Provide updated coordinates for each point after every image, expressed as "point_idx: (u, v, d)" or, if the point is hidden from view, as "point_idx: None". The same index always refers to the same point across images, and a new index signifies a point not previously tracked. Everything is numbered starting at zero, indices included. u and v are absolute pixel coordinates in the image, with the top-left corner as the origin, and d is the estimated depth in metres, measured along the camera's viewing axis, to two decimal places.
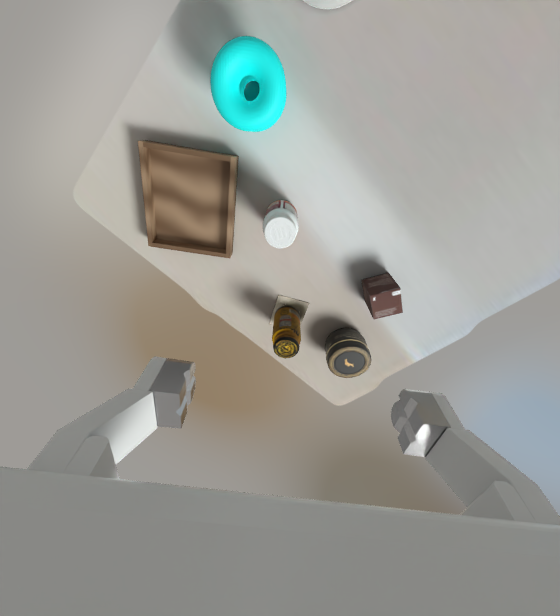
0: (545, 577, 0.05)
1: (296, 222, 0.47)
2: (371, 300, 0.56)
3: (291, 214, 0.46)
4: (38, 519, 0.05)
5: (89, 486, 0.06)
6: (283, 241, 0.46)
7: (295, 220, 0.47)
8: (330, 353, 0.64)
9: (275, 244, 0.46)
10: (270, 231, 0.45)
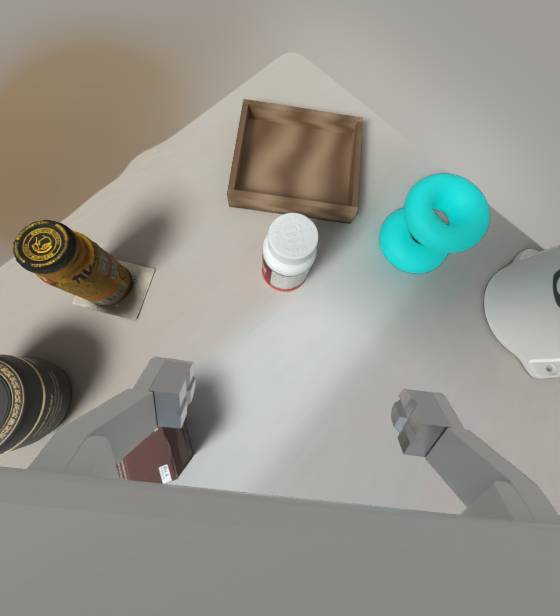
0: (545, 577, 0.05)
1: (300, 269, 0.31)
2: None
3: (311, 262, 0.31)
4: (38, 519, 0.05)
5: (89, 486, 0.06)
6: (280, 240, 0.28)
7: (303, 268, 0.31)
8: (8, 358, 0.28)
9: (275, 228, 0.28)
10: (294, 221, 0.29)
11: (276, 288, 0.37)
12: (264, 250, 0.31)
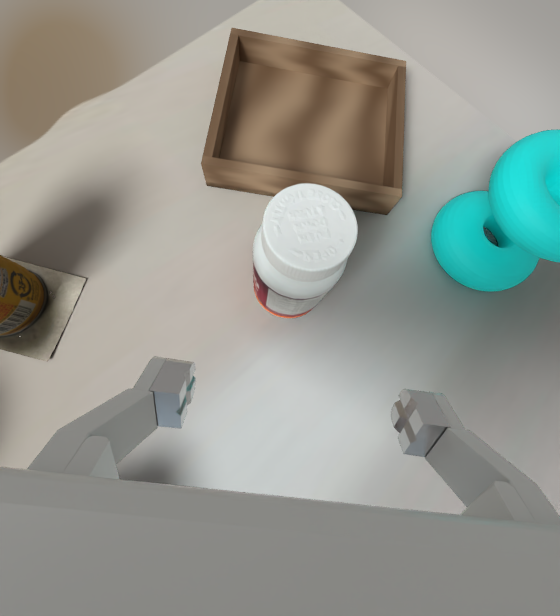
0: (545, 577, 0.05)
1: (319, 288, 0.17)
2: None
3: (338, 275, 0.17)
4: (38, 519, 0.05)
5: (89, 486, 0.06)
6: (285, 233, 0.15)
7: (325, 285, 0.17)
8: None
9: (275, 210, 0.15)
10: (313, 198, 0.15)
11: (275, 313, 0.23)
12: (254, 253, 0.17)
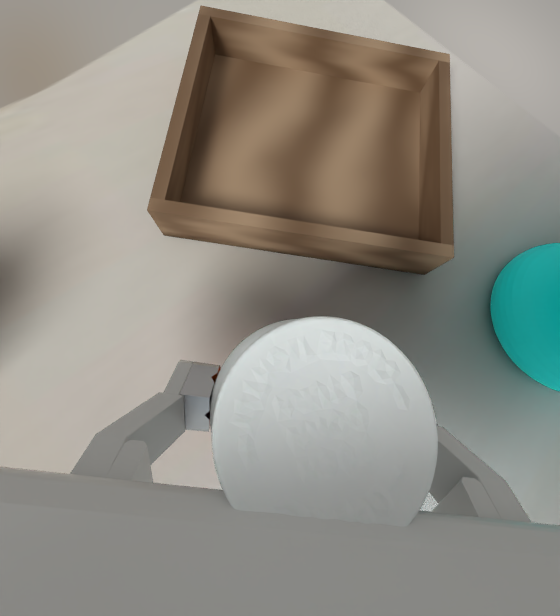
0: (545, 577, 0.05)
1: None
2: None
3: None
4: (38, 519, 0.05)
5: (89, 486, 0.06)
6: (267, 458, 0.06)
7: None
8: None
9: (243, 394, 0.06)
10: (333, 356, 0.07)
11: None
12: (211, 426, 0.09)
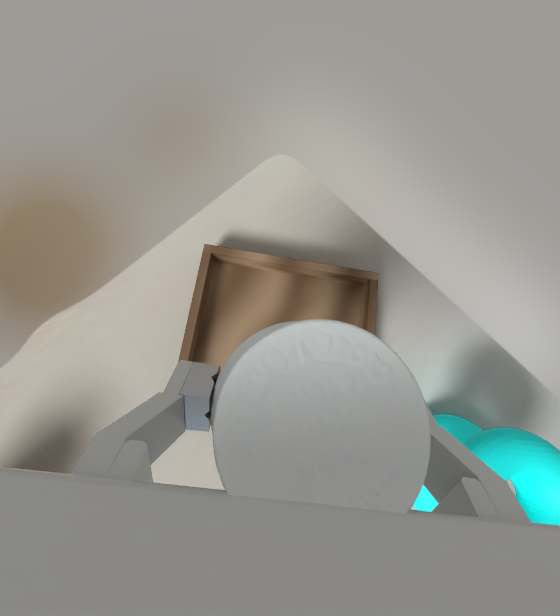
0: (545, 577, 0.05)
1: None
2: None
3: None
4: (38, 519, 0.05)
5: (89, 486, 0.06)
6: (266, 455, 0.06)
7: None
8: None
9: (243, 394, 0.06)
10: (330, 358, 0.07)
11: None
12: (212, 425, 0.09)
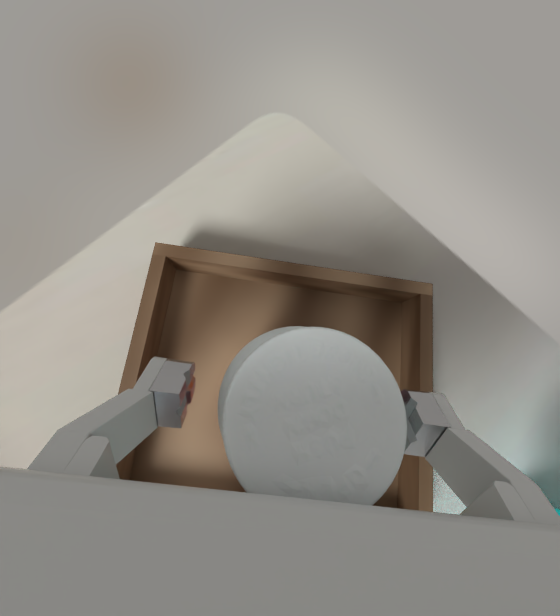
0: (545, 577, 0.05)
1: None
2: None
3: None
4: (38, 519, 0.05)
5: (89, 486, 0.06)
6: (267, 442, 0.07)
7: None
8: None
9: (248, 391, 0.08)
10: (321, 360, 0.08)
11: None
12: (219, 419, 0.10)
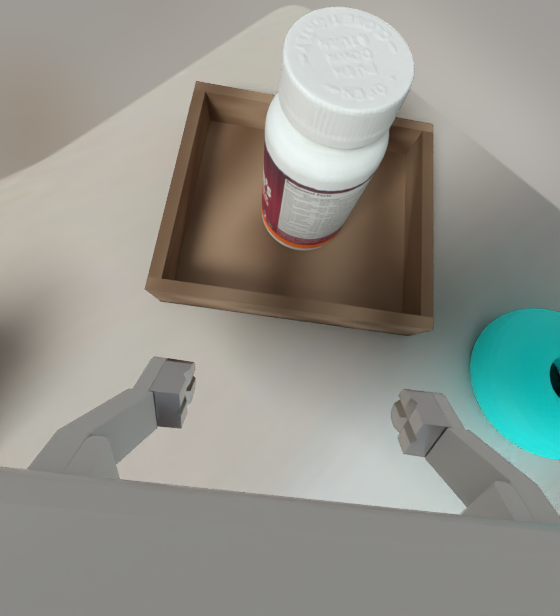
0: (545, 577, 0.05)
1: (354, 171, 0.13)
2: None
3: (378, 157, 0.13)
4: (38, 519, 0.05)
5: (89, 486, 0.06)
6: (315, 64, 0.10)
7: (361, 167, 0.13)
8: None
9: (300, 36, 0.11)
10: (352, 25, 0.11)
11: (289, 239, 0.19)
12: (268, 127, 0.13)
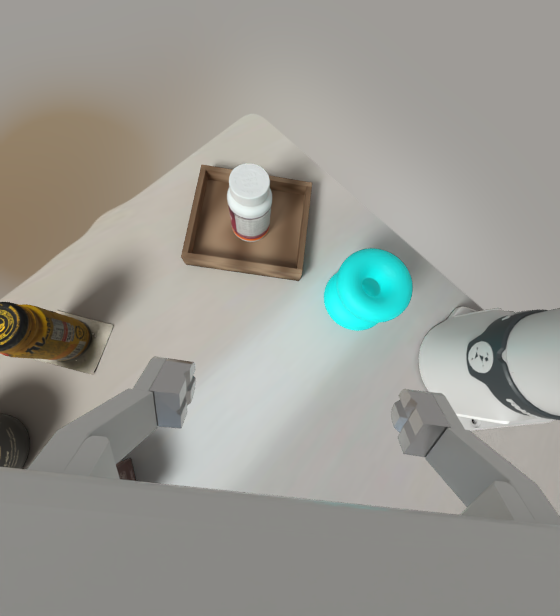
0: (545, 577, 0.05)
1: (257, 212, 0.37)
2: None
3: (266, 207, 0.38)
4: (38, 519, 0.05)
5: (89, 486, 0.06)
6: (238, 183, 0.35)
7: (259, 211, 0.37)
8: None
9: (234, 174, 0.35)
10: (251, 169, 0.35)
11: (242, 236, 0.44)
12: (227, 196, 0.38)
